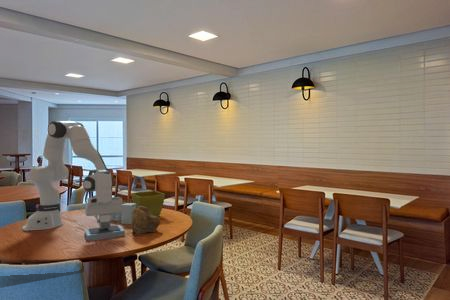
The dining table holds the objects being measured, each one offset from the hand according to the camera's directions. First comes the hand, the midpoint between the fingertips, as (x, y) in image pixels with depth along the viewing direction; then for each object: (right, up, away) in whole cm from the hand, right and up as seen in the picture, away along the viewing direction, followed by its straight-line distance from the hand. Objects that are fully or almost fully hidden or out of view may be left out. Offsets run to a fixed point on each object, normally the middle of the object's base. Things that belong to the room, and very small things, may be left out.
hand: (104, 221), depth 188 cm
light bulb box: (-6, -7, +38) cm, 39 cm away
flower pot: (+14, -7, +46) cm, 49 cm away
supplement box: (+6, -7, +29) cm, 30 cm away
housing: (0, -3, 0) cm, 3 cm away
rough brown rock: (+22, -8, +8) cm, 25 cm away
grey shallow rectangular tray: (0, -8, 0) cm, 8 cm away
